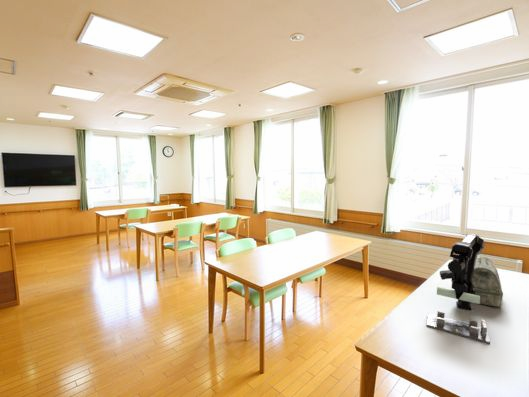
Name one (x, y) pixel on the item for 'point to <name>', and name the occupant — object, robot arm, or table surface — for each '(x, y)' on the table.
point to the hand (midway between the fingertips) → (457, 296)
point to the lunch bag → (487, 282)
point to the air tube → (464, 297)
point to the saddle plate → (459, 327)
